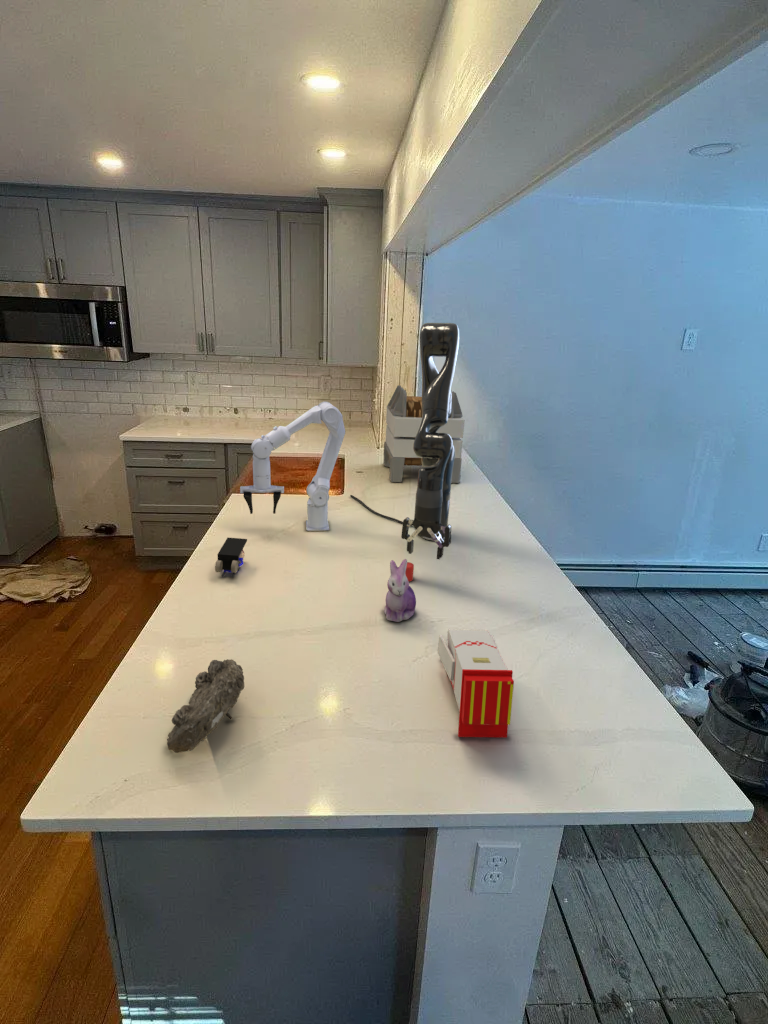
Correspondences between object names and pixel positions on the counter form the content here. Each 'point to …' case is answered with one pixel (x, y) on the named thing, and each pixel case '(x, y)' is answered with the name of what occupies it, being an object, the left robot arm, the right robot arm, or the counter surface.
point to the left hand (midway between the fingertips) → (263, 512)
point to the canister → (409, 571)
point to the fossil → (206, 705)
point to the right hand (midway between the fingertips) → (424, 555)
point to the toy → (478, 682)
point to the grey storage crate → (404, 428)
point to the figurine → (399, 594)
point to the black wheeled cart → (230, 556)
